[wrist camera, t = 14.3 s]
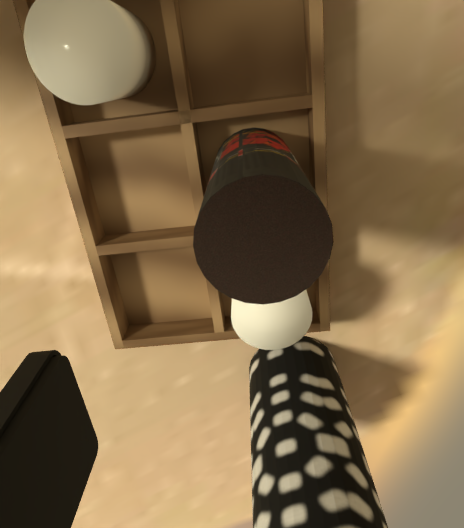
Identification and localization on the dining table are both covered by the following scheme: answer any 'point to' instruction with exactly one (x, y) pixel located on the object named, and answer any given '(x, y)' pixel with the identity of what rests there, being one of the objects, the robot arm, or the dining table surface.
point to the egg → (88, 50)
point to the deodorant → (260, 222)
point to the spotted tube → (306, 444)
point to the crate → (187, 154)
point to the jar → (272, 322)
